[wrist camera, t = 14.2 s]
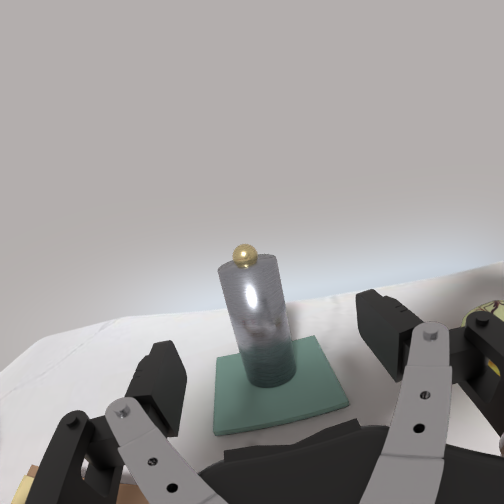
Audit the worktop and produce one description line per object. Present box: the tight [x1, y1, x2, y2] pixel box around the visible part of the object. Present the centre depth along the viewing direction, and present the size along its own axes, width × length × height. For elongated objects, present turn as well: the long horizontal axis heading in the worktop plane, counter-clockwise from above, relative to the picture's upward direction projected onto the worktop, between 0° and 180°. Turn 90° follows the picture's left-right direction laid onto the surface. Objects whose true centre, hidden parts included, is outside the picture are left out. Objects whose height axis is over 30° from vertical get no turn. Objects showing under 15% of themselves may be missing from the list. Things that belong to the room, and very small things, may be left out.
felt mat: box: [213, 336, 349, 436], centre depth 25 cm, size 11×11×1 cm
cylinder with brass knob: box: [218, 244, 297, 388], centre depth 24 cm, size 5×5×13 cm
